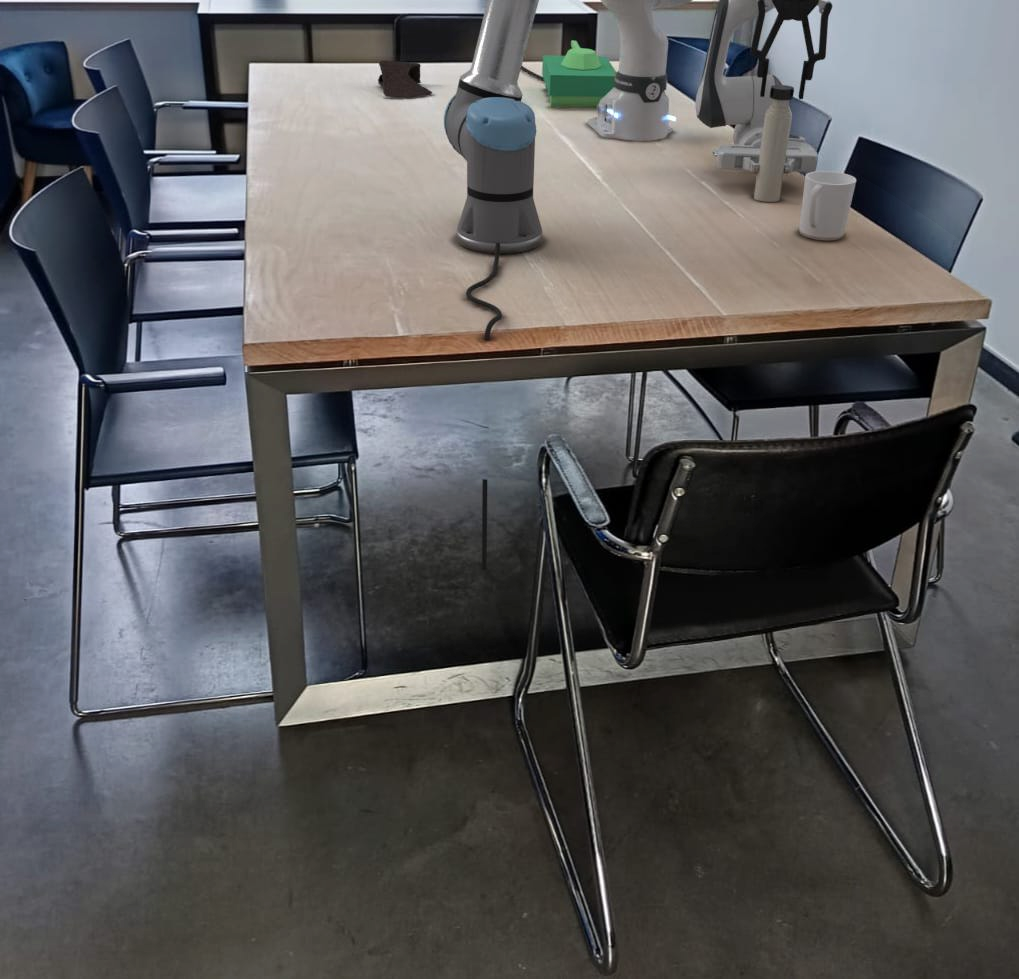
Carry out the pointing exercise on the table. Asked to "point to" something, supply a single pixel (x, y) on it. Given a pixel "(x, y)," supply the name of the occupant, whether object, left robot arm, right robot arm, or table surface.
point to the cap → (781, 92)
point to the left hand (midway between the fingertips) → (781, 96)
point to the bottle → (773, 151)
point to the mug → (826, 204)
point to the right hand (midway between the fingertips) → (772, 169)
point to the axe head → (401, 79)
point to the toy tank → (577, 77)
